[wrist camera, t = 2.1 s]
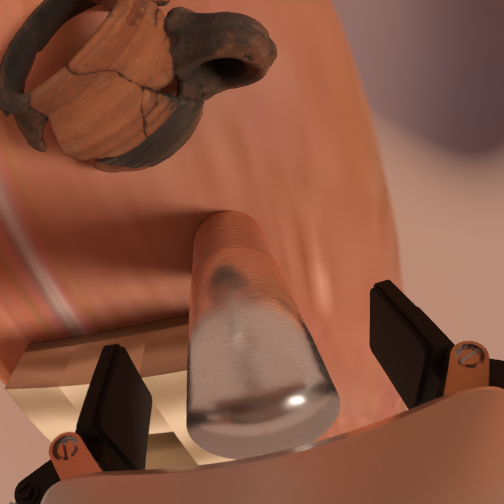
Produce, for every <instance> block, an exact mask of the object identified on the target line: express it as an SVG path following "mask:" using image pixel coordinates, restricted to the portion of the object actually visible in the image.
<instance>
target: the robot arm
mask: <svg viewBox="0 0 504 504" xmlns="http://www.w3.org/2000/svg"><path fill="white" fill-rule="evenodd" d="M369 342H370V348H371V351H372V352H373V354H374V355H375V357H376V359H377V360H378V362H379V363H380V365H381V366H382V368H383V369H384V371H385V373H386V374H387V376H388V377H389V379H390V380H391V382H392V384H393V385H394V387H395V388H396V390H397V392H398V393H399V395H400V396H401V398H402V400H403V401H404V403H405V404H406V406H407V408H408V409H409V410H407V411H404V412H402V413H399V414H397V415H394V416H392V417H389V418H386V419H384V420H381V421H378V422H376V423H373V424H370V425H368V426H365V427H362V428H359V429H356V430H353V431H350V432H347V433H344V434H341V435H338V436H334V437H331V438H328V439H324V440H321V441H317V442H314V443H310V444H307V445H303V446H299V447H295V448H291V449H287V450H283V451H278V452H274V453H269V454H264V455H260V456H254V457H249V458H244V459H238V460H232V461H226V462H219V463H212V464H204V465H196V466H187V467H176V468H163V469H148V470H145V465H146V454H147V444H148V435H149V427H150V418H151V410H152V402H153V401H152V396H151V393H150V391H149V390H148V388H147V386H146V385H145V383H144V381H143V379H142V378H141V376H140V374H139V372H138V371H137V369H136V367H135V365H134V363H133V361H132V360H131V358H130V356H129V354H128V352H127V350H126V349H125V347H123V346H122V347H121V346H120V345H119V344H111V345H105V346H104V347H103V349H102V351H101V354H100V357H99V360H98V362H97V365H96V368H95V370H94V373H93V376H92V379H91V382H90V385H89V388H88V391H87V393H86V396H85V399H84V403H83V406H82V409H81V412H80V415H79V418H78V421H77V425H76V431H75V433H74V432H65V433H62V434H60V435H58V436H57V437H56V438H55V439H54V440H53V441H52V443H51V445H50V447H49V455H50V459H51V460H49V461H48V462H46V463H45V464H44V465H42V466H41V467H40V468H38V469H37V470H35V471H34V472H33V473H31V474H30V475H29V476H27V477H26V478H25V479H23V480H22V481H21V482H20V483H18V485H17V487H16V489H15V500H16V502H15V503H13V502H10V504H504V361H502V360H495V359H489V353H488V351H487V349H486V348H485V347H484V346H482V345H481V344H479V343H477V342H474V341H463V342H459V343H458V344H456V345H454V344H453V343H452V342H451V340H449V338H448V337H447V336H446V335H445V334H444V333H443V332H442V331H441V330H440V329H439V328H438V327H437V326H436V325H435V323H433V321H432V320H431V319H430V318H429V317H428V316H427V315H426V314H425V313H424V312H423V311H422V310H421V309H420V308H418V307H417V306H415V305H414V304H413V303H412V302H411V301H410V300H409V299H408V298H407V297H406V296H405V295H404V294H403V293H402V292H401V291H400V290H399V289H398V288H397V287H396V286H395V285H394V284H393V283H392V282H391V281H390V280H385V281H382V282H378V283H375V284H374V288H372V289H371V290H370V341H369Z"/></svg>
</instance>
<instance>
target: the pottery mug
mask: <svg viewBox="0 0 504 504" xmlns="http://www.w3.org/2000/svg"><path fill="white" fill-rule="evenodd" d="M169 2H170V0H44V1H43V2H42V3H41V4H40V5H39V6H38V7H37V8H36V9H35V10H34V11H33V12H32V13H31V15H30V16H29V17H28V18H27V20H26V21H25V22H24V23H23V25H22V27H21V28H20V29H19V31H18V32H17V33H16V35H15V36H14V38H13V39H12V41H11V42H10V44H9V46H8V48H7V51H6V52H5V54H4V56H3V58H2V61H1V64H0V108H1V110H2V111H3V112H4V115H5V116H8V115H9V114H14V118H15V120H16V123H17V126H18V128H19V129H20V131H21V133H22V134H23V136H24V137H25V138H26V140H27V142H28V144H29V145H30V146H32V147H33V148H34V149H36V150H38V151H41V152H45V151H46V148H47V146H46V144H45V142H44V140H43V139H42V137H43V129H44V126H45V124H46V123H47V120H48V119H49V121H50V124H51V129H52V132H53V133H54V134H55V137H56V141H57V143H58V145H59V146H60V147H61V150H62V152H63V153H64V154H65V155H68V156H71V157H73V158H75V159H78V160H80V161H85V160H90V159H93V158H98V159H99V160H96V161H95V163H94V167H95V168H96V169H98V170H101V171H105V172H119V171H137V170H142V169H146V168H148V167H151V166H155V165H157V164H159V163H161V162H162V161H164V160H166V159H167V158H169V157H171V156H172V155H173V154H174V153H175V152H176V151H178V150H179V149H180V148H181V147H182V146H183V145H184V144H185V143H186V142H187V141H188V140H189V138H190V137H191V135H192V134H193V132H194V130H195V128H196V126H197V125H198V123H199V120H200V118H201V116H202V113H203V111H202V108H203V104H204V101H205V100H208V99H209V98H211V97H212V96H214V95H215V94H217V93H220V92H222V91H225V90H228V89H233V88H239V87H243V86H247V85H250V84H253V83H255V82H257V81H259V80H260V79H262V78H263V77H264V76H265V75H266V73H267V71H268V69H269V68H270V66H271V65H272V63H273V62H274V60H275V59H276V57H277V48H276V45H275V43H274V42H273V41H272V40H271V39H270V37H269V33H268V31H267V30H266V29H265V28H264V27H263V25H262V24H261V23H259V22H258V21H256V20H255V19H253V18H251V17H249V16H246V15H243V14H239V13H232V12H217V13H195V12H193V11H191V10H189V9H186V8H184V7H176V8H173V9H171V10H170V11H169V12H168V14H167V17H166V18H165V17H164V15H163V13H162V11H161V10H160V9H159V8H158V6H165V5H167V4H168V3H169ZM98 4H99V5H103V6H105V7H107V8H111V9H112V10H111V12H110V13H109V15H108V16H107V17H106V19H105V20H104V22H103V23H102V24H101V25H100V27H99V28H98V30H97V31H96V32H95V33H94V35H93V36H92V37H91V38H90V39H89V40H88V42H87V43H86V44H85V45H84V46H83V48H82V49H81V50H80V51H78V52H77V53H76V54H75V55H74V57H73V58H72V59H71V60H70V61H69V62H68V64H67V65H66V66H64V67H62V68H61V69H60V70H59V71H57V72H56V73H55V74H54V75H53V76H52V77H50V78H49V79H47V80H46V81H45V82H43V83H42V84H40V85H39V86H37V87H36V88H34V89H33V90H32V91H31V92H26V93H24V87H25V81H26V79H27V76H28V74H29V72H30V70H31V68H32V65H33V63H34V60H35V56H36V53H37V52H40V51H41V50H42V49H43V48H44V47H45V46H46V44H47V43H48V42H49V40H50V39H51V37H52V36H53V35H54V34H55V32H56V31H57V30H58V29H59V28H60V27H61V26H62V25H63V24H64V23H65V22H66V21H68V20H70V19H71V18H72V17H74V16H76V15H78V14H80V13H82V12H84V11H86V10H87V9H89V8H92V7H94V6H96V5H98ZM175 76H176V77H177V78H178V80H177V83H178V85H177V86H178V87H177V94H176V95H169V94H167V93H163V92H161V90H162V89H163V87H165V86H167V85H168V84H169V83H170V82H171V81H172V79H173V78H174V77H175Z"/></svg>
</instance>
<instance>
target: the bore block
mask: <svg viewBox="0 0 504 504" xmlns="http://www.w3.org/2000/svg"><path fill="white" fill-rule="evenodd" d="M188 329H189V315H186V316H181V317H177V318H172V319H167V320H162V321H157V322H152V323H147V324H142V325H137V326H132V327H127V328H122V329H116V330H111V331H106V332H100V333H95V334H89V335H83V336H77V337H72V338H66V339H60V340H53V341H47V342H41V343H34V344H29V345H28V346H27V348H26V350H25V352H24V353H23V355H22V357H21V359H20V361H19V362H18V364H17V366H16V368H15V370H14V372H13V373H12V375H11V377H10V379H9V381H8V383H7V385H6V387H5V391H6V392H7V393H8V394H9V396H10V397H11V398H12V399H13V400H14V402H15V403H16V404H17V405H18V406H19V408H20V409H21V410H22V411H23V412H24V413H25V414H26V416H27V417H28V418H29V419H30V420H31V421H32V422H33V423H34V424H35V426H36V427H37V428H38V429H39V430H40V431H41V432H42V433H43V434H44V435H45V436H46V437H47V438H48V439H49V440H50V441H51V442H52V441H53V440H54V439H55V438H56V437H57V436H58V435H60V434H62V433H65V432H74V433H75V431H76V425H77V421H78V418H79V415H80V412H81V409H82V406H83V403H84V399H85V396H86V393H87V391H88V388H89V385H90V382H91V379H92V376H93V373H94V370H95V368H96V365H97V362H98V360H99V357H100V354H101V351H102V349H103V347H104V346H105V345H111V344H119V345H120V346H121V347H122V346H123V347H125V349H126V350H127V352H128V354H129V356H130V358H131V360H132V361H133V363H134V365H135V367H136V369H137V371H138V372H139V374H140V376H141V378H142V379H143V381H144V383H145V385H146V386H147V388H148V390H149V391H150V393H151V396H152V401H153V402H152V410H151V418H150V427H149V435H148V444H147V454H146V465H145V470H148V469H163V468H176V467H187V466H196V465H204V464H212V463H219V462H226V461H232V460H236V459H229V458H224V457H220V456H217V455H214V454H211V453H209V452H207V451H205V450H204V449H202V448H201V447H199V446H198V445H197V444H196V443H195V442H194V441H193V440H192V439H191V438H190V436H189V434H188V431H187V427H186V401H187V356H188Z"/></svg>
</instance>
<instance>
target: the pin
mask: <svg viewBox="0 0 504 504" xmlns="http://www.w3.org/2000/svg"><path fill="white" fill-rule="evenodd" d="M339 409H340V399H339V396H338V393H337V391H336V389H335V387H334V384H333V382H332V380H331V378H330V376H329V373H328V371H327V369H326V367H325V365H324V362H323V360H322V358H321V356H320V354H319V351H318V349H317V347H316V345H315V343H314V341H313V338H312V336H311V334H310V332H309V330H308V328H307V325H306V323H305V321H304V319H303V317H302V315H301V313H300V310H299V308H298V306H297V304H296V302H295V300H294V298H293V295H292V293H291V291H290V289H289V287H288V285H287V283H286V281H285V278H284V276H283V274H282V272H281V270H280V268H279V266H278V264H277V262H276V259H275V257H274V255H273V253H272V251H271V249H270V247H269V245H268V243H267V241H266V238H265V236H264V234H263V232H262V230H261V228H260V227H259V225H258V224H257V222H256V221H255V220H254V219H252V218H251V217H250V216H248V215H246V214H244V213H241V212H237V211H223V212H219V213H216V214H214V215H212V216H210V217H209V218H207V219H206V220H205V221H204V222H203V223H202V224H201V225H200V227H199V228H198V230H197V232H196V235H195V238H194V248H193V261H192V275H191V291H190V309H189V329H188V356H187V401H186V427H187V431H188V434H189V436H190V438H191V439H192V440H193V441H194V442H195V443H196V444H197V445H198V446H199V447H201V448H202V449H204V450H205V451H207V452H209V453H211V454H214V455H217V456H220V457H224V458H229V459H236V460H238V459H244V458H249V457H254V456H260V455H264V454H269V453H274V452H278V451H283V450H287V449H291V448H295V447H299V446H303V445H307V444H310V443H312V442H313V441H315V440H316V439H318V438H319V437H320V436H322V435H323V434H324V433H325V432H326V431H327V430H328V429H329V428H330V427H331V425H332V424H333V423H334V421H335V419H336V417H337V415H338V412H339Z"/></svg>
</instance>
